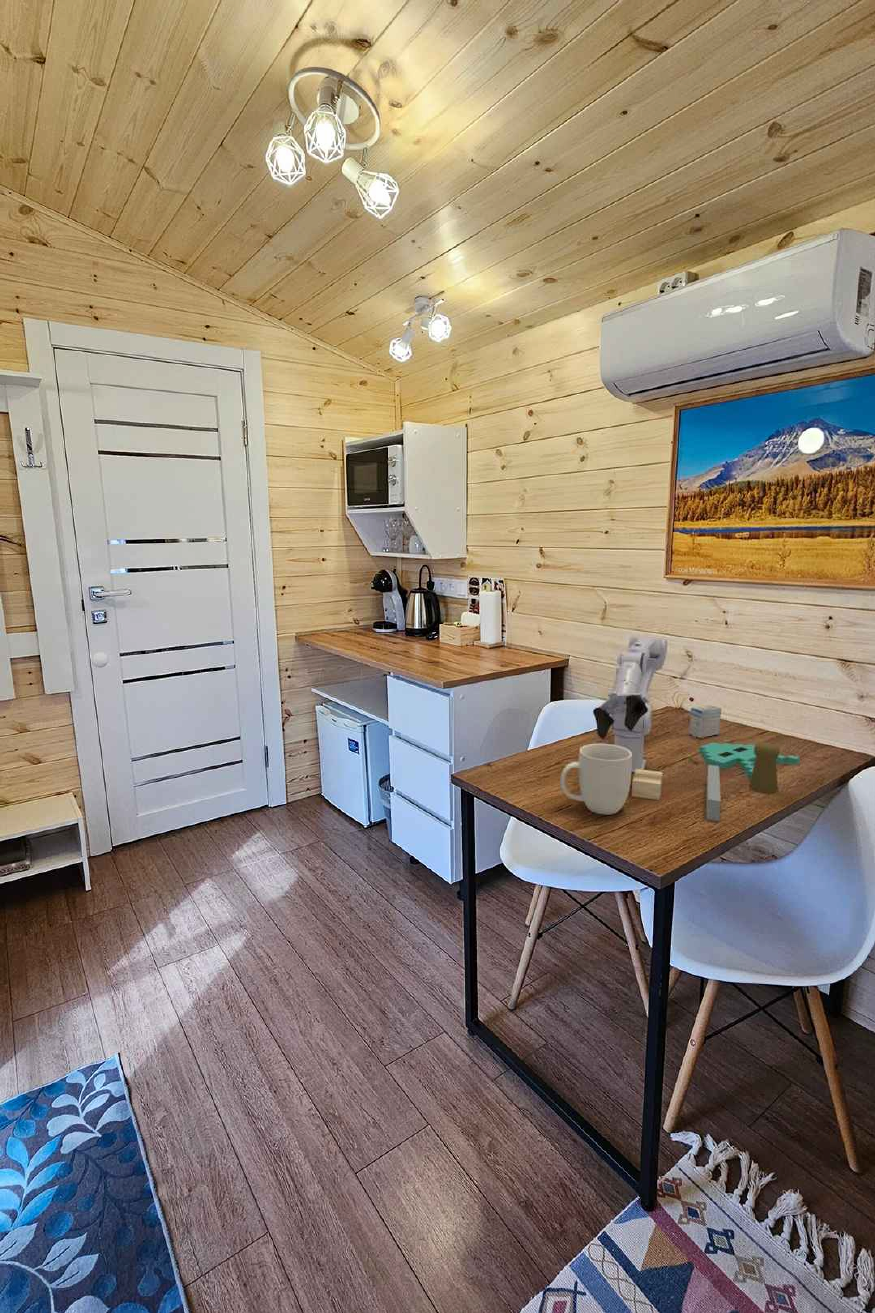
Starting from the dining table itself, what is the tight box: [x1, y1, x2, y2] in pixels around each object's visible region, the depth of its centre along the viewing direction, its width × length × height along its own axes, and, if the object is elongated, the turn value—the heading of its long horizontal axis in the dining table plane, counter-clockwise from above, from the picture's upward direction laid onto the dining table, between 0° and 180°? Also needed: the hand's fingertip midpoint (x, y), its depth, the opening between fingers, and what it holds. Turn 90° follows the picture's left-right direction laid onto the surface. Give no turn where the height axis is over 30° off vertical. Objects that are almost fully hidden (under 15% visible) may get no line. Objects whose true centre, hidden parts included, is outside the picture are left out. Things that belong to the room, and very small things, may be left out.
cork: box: [748, 741, 780, 795], centre depth 145 cm, size 6×6×11 cm
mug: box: [560, 743, 632, 816], centre depth 134 cm, size 15×11×13 cm
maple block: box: [631, 769, 663, 801], centre depth 144 cm, size 8×6×4 cm
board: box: [706, 765, 722, 822], centre depth 139 cm, size 22×2×4 cm, turn 157°
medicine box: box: [688, 704, 722, 737], centre depth 185 cm, size 8×4×9 cm, turn 115°
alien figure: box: [698, 742, 801, 780], centre depth 164 cm, size 20×2×20 cm
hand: (614, 732), depth 140 cm, fingers open, 7 cm apart
